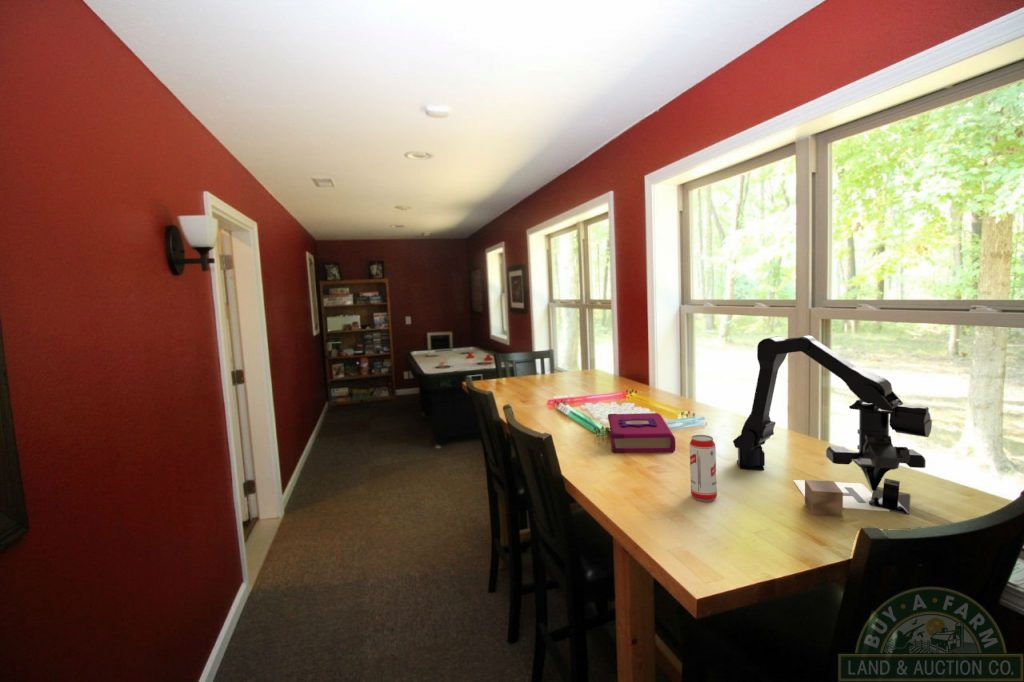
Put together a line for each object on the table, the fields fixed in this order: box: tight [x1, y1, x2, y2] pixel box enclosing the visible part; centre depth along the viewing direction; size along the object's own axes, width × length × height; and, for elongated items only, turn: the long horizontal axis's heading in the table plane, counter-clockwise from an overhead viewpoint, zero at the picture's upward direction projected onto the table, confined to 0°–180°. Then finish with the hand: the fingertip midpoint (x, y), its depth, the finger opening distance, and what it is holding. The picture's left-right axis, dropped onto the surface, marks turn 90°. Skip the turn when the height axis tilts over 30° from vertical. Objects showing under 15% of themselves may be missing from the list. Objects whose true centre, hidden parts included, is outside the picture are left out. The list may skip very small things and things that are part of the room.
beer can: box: [689, 434, 718, 503], centre depth 120 cm, size 6×6×16 cm
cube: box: [804, 479, 844, 518], centre depth 110 cm, size 6×6×6 cm
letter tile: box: [792, 479, 891, 512], centre depth 118 cm, size 16×16×1 cm
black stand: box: [869, 477, 911, 515], centre depth 112 cm, size 12×7×5 cm, turn 138°
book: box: [607, 412, 677, 454], centre depth 171 cm, size 21×28×8 cm
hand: (873, 490), depth 115 cm, fingers closed
